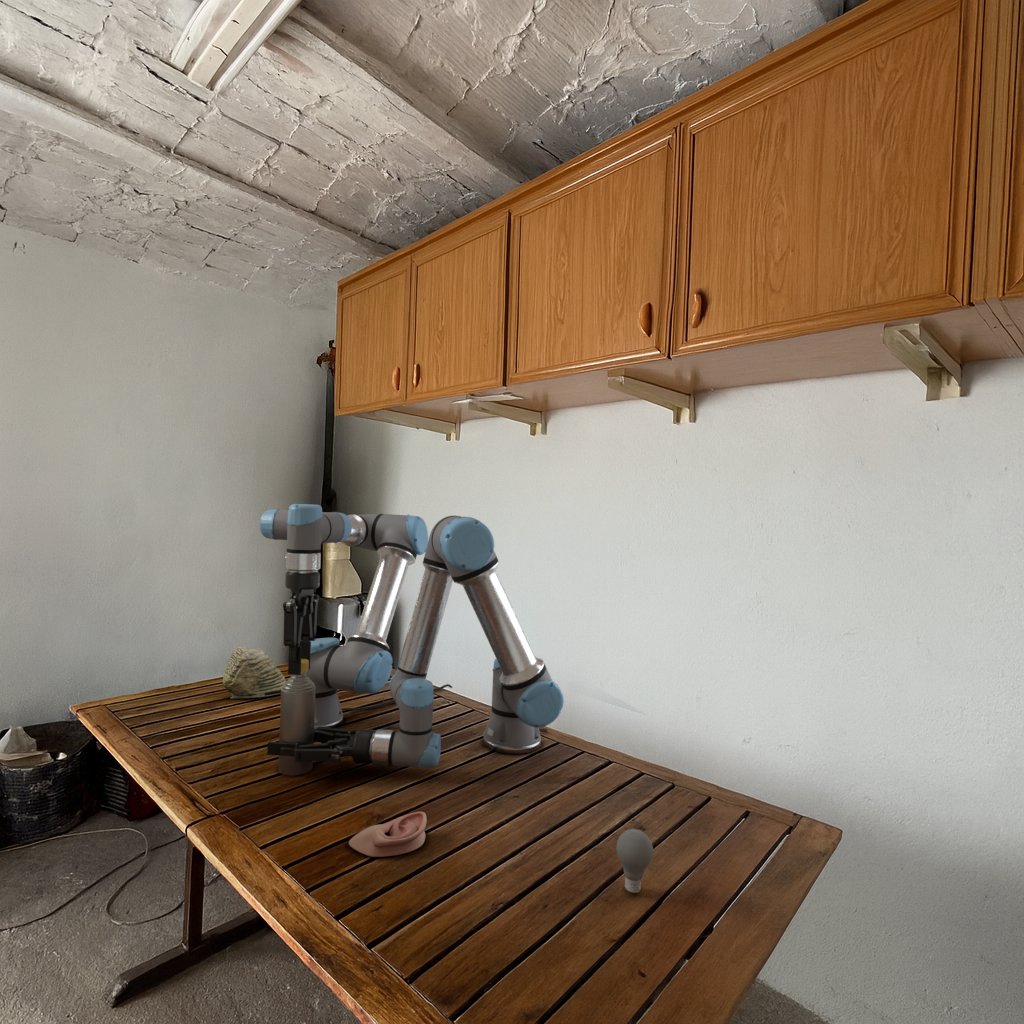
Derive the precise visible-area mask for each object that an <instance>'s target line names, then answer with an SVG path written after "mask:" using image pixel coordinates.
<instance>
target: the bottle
mask: <svg viewBox="0 0 1024 1024" xmlns="http://www.w3.org/2000/svg"><path fill="white" fill-rule="evenodd" d="M305 674H306V673H301V675H290V677H289V678H288V679H287V680H286V682H285V684H283V687H282V688H281V693H280V708H279V709H280V711H279V712H280V713H279V738H278V742H284V743H296V742H298V745H308V744H315V743H314V718H315V692H316V686H315V684H314V683H313V682H312V680H310V678H309V677H307V675H305ZM277 762H278V765H277V771H278V773H279V774H281V775H284V776H300V775H305V774H307V773H309V772H311V771H312V770H313V768H314V762H296V761H295V756H279V755H278V761H277Z"/></svg>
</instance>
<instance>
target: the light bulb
mask: <svg viewBox="0 0 1024 1024" xmlns="http://www.w3.org/2000/svg"><path fill="white" fill-rule="evenodd" d="M615 849H616V854H617V857H618V859H619V861H620V863H621V865H622V867H623V873H624V874H623V875H624V876H625V878H624V888H625V890H627V891H628V892H630V893H634V894H635V893H639V892H640V891H641V889H642V887H641V886H642V879H643V877H644V875H645V871H646V868H647V867H648V866H649V864H650V863H651V861H652V859H653V855H654V847H653V843H652V841H651V838H649V836H648V835H647V834H646V833H645V832H643V831H642V830H641V829H636V828H629V829H627V830H625V831H623V832H622V833H621V834H620V835H619V837H618V839H617V841H616V847H615Z"/></svg>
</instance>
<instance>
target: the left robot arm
mask: <svg viewBox="0 0 1024 1024" xmlns="http://www.w3.org/2000/svg"><path fill="white" fill-rule="evenodd" d="M259 530H260V533H261V536H263V537H264V538H266V539H271V540H274V541H286V555H285V560H286V561H285V569H286V570H288V571H286V572H285V578H284V579H285V580H284V581H285V582H284V586H285V588H286V589H289V590H290V595H289V600H288V601H284V602H283V603H282V609H283V645H284V647H288V664H287V665H288V666H287V667H288V668H287V675H290V676H292V675H301V659H307V660H309V670H308V672H306V674H305V675H307V677H309V678H310V680H312V682H313V683H314V684H315V686H316V692H315V718H314V729H317V727H318V726H320V727H329V728H337V727H339V726H340V725H342V723H343V722H344V714H343V712H346V711H349V712H350V711H364V710H365V711H366V710H370V709H375V708H379V707H382V706H386V705H389V704H392V703H394V702H395V700H394V699H393V698H392V699H391V700H388V701H385V702H381V703H378V704H374V705H369V706H363V707H343V708H342V706H341V702H340V699H339V695H338V691H346V692H351V693H357V694H359V695H362V694H368V695H373V694H376V693H379V692H380V691H381V690H382V689H383V688H384V687H385V685H386V684H387V683H388V681H389V679H390V676H391V675H392V670H393V665H392V664H393V656H392V654H391V653H390V652H389V650H390V646H389V644H388V643H387V638H388V635H389V633H390V630H391V629H390V628H391V625H392V621H393V618H394V616H395V612H396V609H397V605H398V602H399V599H400V596H401V592H402V589H403V585H404V582H405V579H406V575H407V572H408V569H409V566H412V565H414V564H415V563H416V561H417V557H418V556H421V555H425V552H426V548H427V544H428V540H429V532H428V526H427V524H426V522H425V520H424V519H423V517H421V516H419V515H410V514H407V515H406V514H391V513H366V514H353V513H352V514H345V513H343V512H338V511H331V512H330V511H329V512H328V511H327V512H325V511H323V507H322V505H320V504H310V503H293V504H291V505H289V507H288V509H278V508H277V509H268V510H266V511H264V512H263V513H262V515H261V516H260V520H259ZM331 543H332V544H333V543H334V544H338V543H341V544H343V545H344V546H346V547H352V548H353V547H354V548H355V547H356V548H358V549H363V550H368V551H372V552H376V553H377V555H378V556H379V561H378V564H377V567H376V570H375V573H374V576H373V579H372V582H371V584H370V589H369V591H368V594H367V597H366V601H365V603H364V607H363V610H362V613H361V616H360V618H359V622H358V625H357V629H356V631H355V633H353V634H352V635H350V636H348V638H347V641H346V644H345V645H340V644H341V643H340V642H341V641H340V639H339V638H337V637H321V638H319V637H318V638H316V635H317V622H318V606H319V600H320V595H319V594H315V593H314V590H316V589H318V588H319V587H320V580H321V573H320V572H319V571H320V569H321V559H322V558H321V557H322V555H321V551H322V550H321V547H322V544H331ZM447 687H448V688H450V689H453V686H452V685H451V684H450V683H449V684H444V685H442V686H440V687H436V688H433V692H436V691H440V690H442V689H445V688H447Z"/></svg>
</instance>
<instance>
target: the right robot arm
mask: <svg viewBox="0 0 1024 1024" xmlns="http://www.w3.org/2000/svg"><path fill="white" fill-rule="evenodd" d="M499 563H500V561H499V559H498V556H497V554H496V552H495V539H494V535H493V533H492V532H491V530H490V529H489V527H488V526H487V525H486V524H485V523H484V522H482V521H481V520H479V519H477V518H474V517H471V516H461V515H448V516H445V517H443V518H441V519H440V520H438V521H436V523H435V525H434V526H433V527H432V529H431V531H430V534H429V536H428V544H427V548H426V552H425V553H424V557H423V560H422V565H423V568H424V571H423V575H422V579H421V581H420V586H419V590H418V593H417V597H416V600H415V604H414V607H413V611H412V615H411V619H410V622H409V625H408V629H407V633H406V636H405V639H404V643H403V647H402V651H401V653H400V657H399V662H398V665H397V668H396V671H395V673H394V674H393V675H392V676H391V678H390V681H389V691H390V692H389V693H390V695H391V697H392V700H393V699H394V700H395V701H394V702H395V704H396V706H397V708H398V710H399V727H398V730H392V729H391V730H390V729H376V731H375V730H374V729H370V728H369V729H366V728H360V729H354V728H353V729H344V728H337V727H335V728H329V727H320V726H318V727H317V729H314V744H308V745H298V742H296V743H284V742H279V741H268V742H267V753H266V754H267V756H278V757H279V756H295V761H296V762H313V763H315V762H318V763H319V762H322V763H323V762H324V763H326V762H327V763H328V762H330V763H335V764H337V763H341V758H347V757H351V758H352V761H353V763H354V764H357V765H358V764H359V765H370V764H371V763H372V764H373V765H377V766H383V767H384V768H386V767H387V766H392V767H393V766H394V767H395V766H397V767H408V768H417V769H421V768H422V769H424V768H425V769H426V768H427V769H429V768H435V767H437V765H438V764H439V761H440V759H441V752H442V751H441V750H442V736H441V734H440V733H436V732H434V731H433V714H434V700H435V694H434V691H433V689H434V684H433V682H432V680H431V681H430V680H428V679H427V676H428V672H429V668H430V664H431V661H432V658H433V654H434V650H435V646H436V642H437V641H438V636H439V632H440V629H441V625H442V622H443V618H444V615H445V612H446V607H447V604H448V600H449V597H450V593H451V591H452V586H453V583H455V584H457V585H459V586H462V587H463V589H464V592H465V594H466V597H467V598H468V600H469V602H470V605H471V607H472V609H473V611H474V614H475V615H476V617H477V620H478V622H479V624H480V626H481V629H482V631H483V634H484V635H485V637H486V640H487V641H488V643H489V646H490V648H491V651H492V652H493V655H494V657H495V658H494V661H493V666H492V667H493V668H492V691H491V713H490V716H489V719H488V721H487V724H486V727H485V729H484V732H483V741H482V743H483V745H484V746H485V747H486V748H487V749H489V750H492V751H494V752H498V753H502V754H507V755H508V754H509V755H520V754H521V755H522V754H528V753H532V752H534V751H537V750H538V749H540V747H541V746H542V745H541V744H542V735H541V733H548V728H544V727H546V726H548V725H550V724H552V723H553V722H554V721H555V720H557V719H558V717H559V716H560V714H561V711H562V709H563V707H564V704H565V703H564V702H565V698H564V694H563V693H564V692H563V691H562V689H561V687H560V686H559V684H558V683H557V682H556V681H553V678H552V677H551V675H550V673H549V671H548V668H547V666H546V664H545V661H544V660H543V659H542V658H541V657H538V656H535V655H534V652H533V650H532V648H531V646H530V644H529V641H528V639H527V637H526V635H525V632H524V630H523V628H522V625H521V623H520V621H519V619H518V616H517V614H516V612H515V609H514V608H513V606H512V603H511V601H510V598H509V596H508V595H507V593H506V590H505V587H504V584H503V583H502V581H501V579H500V577H499V574H498V572H497V568H498V565H499Z"/></svg>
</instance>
